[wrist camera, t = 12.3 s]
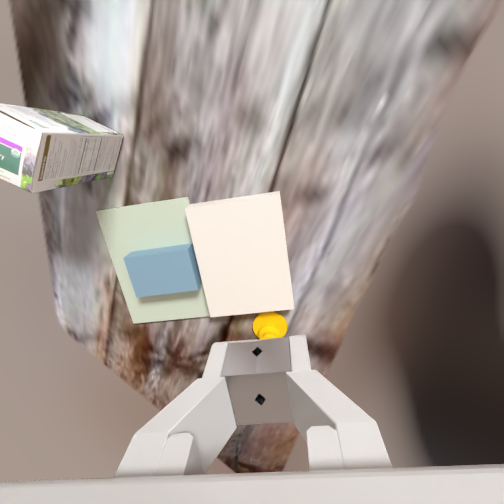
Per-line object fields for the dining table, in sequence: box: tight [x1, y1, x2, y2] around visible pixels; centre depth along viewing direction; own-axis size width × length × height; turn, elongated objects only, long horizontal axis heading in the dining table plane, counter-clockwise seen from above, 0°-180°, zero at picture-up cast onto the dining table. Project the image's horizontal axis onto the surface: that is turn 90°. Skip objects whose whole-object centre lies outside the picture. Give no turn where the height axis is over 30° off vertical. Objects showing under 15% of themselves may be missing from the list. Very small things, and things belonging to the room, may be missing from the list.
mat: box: [95, 197, 210, 324], centre depth 43 cm, size 18×13×1 cm
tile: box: [123, 243, 202, 297], centre depth 42 cm, size 6×9×2 cm, turn 99°
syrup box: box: [0, 103, 123, 193], centre depth 32 cm, size 6×6×14 cm
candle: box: [253, 311, 287, 340], centre depth 39 cm, size 5×5×16 cm
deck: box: [185, 191, 294, 317], centre depth 41 cm, size 16×12×2 cm
